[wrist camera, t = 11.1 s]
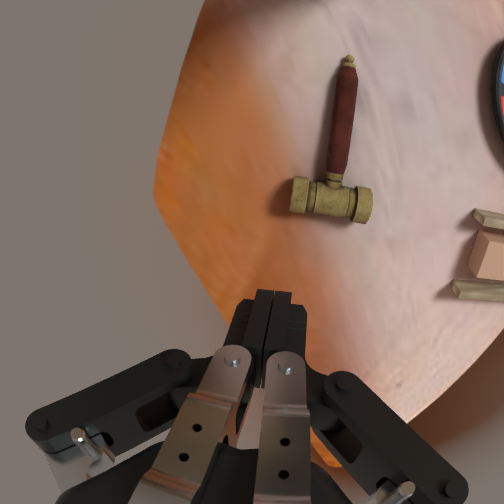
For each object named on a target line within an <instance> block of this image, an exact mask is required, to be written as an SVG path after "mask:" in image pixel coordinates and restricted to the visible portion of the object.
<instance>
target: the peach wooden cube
mask: <svg viewBox="0 0 504 504" xmlns="http://www.w3.org/2000/svg"><path fill="white" fill-rule="evenodd" d="M467 265H468V267H469V268H470V269H471V271H472V272H473V273H474V275H475V276H476V278H485V279H493V280H501V281H504V235H502V234H497V233H492V232H487V231H482V230H478V233H477V237H476V240H475V243H474V246H473V249H472V252H471V255H470V258H469V260H468V263H467Z"/></svg>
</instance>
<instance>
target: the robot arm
mask: <svg viewBox="0 0 504 504" xmlns="http://www.w3.org/2000/svg"><path fill="white" fill-rule="evenodd" d="M291 295H292V292H283V291H275V295H274V291H273V290H263V289H257V292H256V296H255V299H254V300H250V299H243V300H242V301H241V302H240V303H239V304H238V305H237V307H236V310H235V313H234V316H233V319H232V322H231V325H230V327H229V331H228V334H227V336H226V339H225V342H224V345H223V347H221V348H219V349H218V350H217V351H216V352H215V354H214V355H213V356H211V357H207V358H199V359H191V358H190V356H189V355H188V354H187V353H186V352H184V351H182V350H179V349H169V350H166V351H163V352H161V353H159V354H157V355H155V356H153V357H151V358H149V359H147V360H145V361H143V362H141V363H139V364H137V365H135V366H133V367H131V368H129V369H126V370H124V371H122V372H120V373H118V374H116V375H114V376H112V377H110V378H107V379H105V380H103V381H101V382H99V383H96V384H94V385H92V386H90V387H88V388H86V389H84V390H81V391H79V392H77V393H75V394H72V395H70V396H68V397H65V398H63V399H61V400H59V401H56V402H54V403H52V404H49V405H47V406H45V407H42V408H40V409H38V410H35V411H34V412H33V413H31V414H30V415H29V417H28V418H27V420H26V424H25V428H26V432H27V434H28V435H29V437H30V438H31V439H32V440H33V441H34V442H35V443H36V444H37V445H38V447H39V448H40V449H41V450H42V451H43V452H44V453H45V456H46V458H47V461H48V463H49V465H50V468H51V470H52V472H53V475H54V477H55V479H56V481H57V483H58V486H59V488H60V490H61V492H62V494H61V495H60V496H59V498H58V500H57V501H56V503H55V504H352V502H351V501H350V500H349V499H348V498H347V496H346V495H345V494H344V493H343V491H342V490H341V489H340V488H339V486H338V485H337V484H336V483H335V481H334V480H333V479H332V477H331V476H330V475H329V474H328V473H327V472H326V471H325V470H324V469H323V468H321V467H320V466H319V465H317V464H315V463H313V462H311V456H310V455H311V452H310V426H311V427H312V430H313V432H314V433H315V434H316V436H317V437H318V438H319V439H320V440H321V442H322V443H323V444H324V445H325V446H326V447H327V449H328V450H329V451H330V452H331V453H332V454H333V456H334V457H335V458H336V459H337V460H338V461H339V462H340V464H341V465H342V466H343V467H344V468H345V469H346V470H347V472H348V473H349V474H350V475H351V476H352V477H353V478H354V479H355V481H356V482H357V483H358V484H359V485H360V486H361V487H362V488H363V489H364V490H365V492H367V494H368V495H369V498H368V500H367V502H366V504H463V503H464V502H465V500H466V498H467V496H468V483H467V481H466V479H465V478H464V477H463V476H462V475H461V474H460V473H459V472H458V471H457V470H455V469H454V468H453V467H452V466H451V465H450V464H449V463H448V462H447V461H446V460H445V459H444V458H443V457H441V456H440V455H439V454H438V453H437V452H436V451H435V450H434V449H433V448H432V447H431V446H430V445H429V444H428V443H426V442H425V441H424V440H423V439H422V438H421V437H420V436H419V435H418V434H417V433H416V432H415V431H414V430H413V429H412V428H411V427H410V426H409V425H407V424H406V423H405V422H404V421H403V420H402V419H401V418H400V417H399V416H398V415H397V414H396V413H395V412H394V411H393V410H392V409H391V408H390V407H389V406H387V405H386V404H385V403H384V402H383V401H382V400H381V399H380V398H379V397H378V396H377V395H376V394H375V393H374V392H373V391H372V390H371V389H370V388H369V387H368V386H367V385H366V384H365V383H364V382H362V381H361V380H360V379H359V378H358V377H357V376H356V375H354V374H353V373H350V372H347V371H337V372H334V373H331V374H330V375H329V376H327V375H324V374H321V373H319V372H316V371H315V370H313V369H312V368H310V367H309V365H308V364H307V362H306V360H305V344H306V326H307V312H306V310H305V308H304V307H303V305H296V304H291ZM261 379H262V388H265V389H264V401H263V410H262V421H261V432H260V442H259V449H246V450H241V449H237V442H238V439H239V435H240V432H241V429H242V426H243V423H244V420H245V417H246V414H247V411H248V408H249V405H250V399H251V397H252V394H253V389H254V387H256V388H260V384H261ZM169 428H171V429H170V431H169V433H168V435H167V437H166V439H165V441H162V442H159V443H156V444H154V445H152V446H150V447H148V448H146V449H145V450H143V451H141V452H139V453H138V454H136V455H134V456H132V457H130V458H129V459H127V460H125V461H123V462H121V463H119V464H118V465H116V466H114V467H112V466H113V465H114V462H115V457H116V456H118V455H120V454H122V453H124V452H126V451H128V450H130V449H132V448H134V447H136V446H138V445H139V444H141V443H143V442H145V441H147V440H149V439H151V438H153V437H155V436H156V435H158V434H160V433H162V432H164V431H166V430H167V429H169Z"/></svg>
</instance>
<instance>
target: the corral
mask: <svg viewBox="0 0 504 504" xmlns="http://www.w3.org/2000/svg"><path fill="white" fill-rule="evenodd" d="M473 217H474V218H475V219H476V220H477V221H479V222H480V223H481V224H482V225H483V226H488V227H493V228H498V229H503V230H504V215H503V214H499V213H494V212H489V211H485V210H480V209H474V213H473ZM451 287H452V289H453V291H454V293H455V294H456V296H457V298H458V299H474V300H490V301H504V284H497V283H486V282H475V281H464V280H453V281H452V283H451Z"/></svg>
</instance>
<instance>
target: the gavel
mask: <svg viewBox="0 0 504 504" xmlns="http://www.w3.org/2000/svg"><path fill="white" fill-rule="evenodd" d="M353 61H354V57H353V56H352V55H347V56H346V62H345V63H343V66H342V68H341V70H340V72H339V74H338V76H337V85H336V94H335V102H334V110H333V118H332V126H331V133H330V141H329V148H328V155H327V173H326V177H327V179H325V183H322V182H317V183H314V182H309V178H307V177H300V176H294V178H293V184H292V192H291V199H290V206H289V210H290V212H295V213H302V214H304V213H305V210H307V211H313V213H317V214H324V215H330V216H336V217H342V218H344V217H349V218H350V221H351V222H356V223H362V224H366V223H367V221H368V220H369V218H370V215H371V211H372V205H373V194H372V191H371V189H369V188H364V187H359V186H356V187H355V189H349V187H345V186H342V182H341V180H343V174H344V171H345V169H346V166H347V160H348V154H349V148H350V141H351V134H352V127H353V119H354V112H355V104H356V95H357V87H358V77H357V73H356V69H355V67H356V66H355V65H354V64H353Z"/></svg>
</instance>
